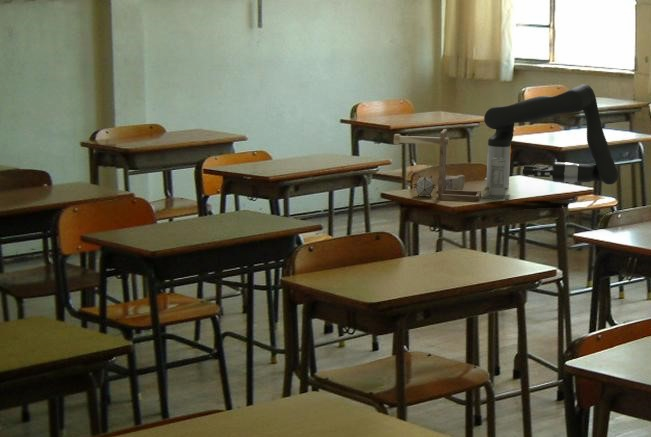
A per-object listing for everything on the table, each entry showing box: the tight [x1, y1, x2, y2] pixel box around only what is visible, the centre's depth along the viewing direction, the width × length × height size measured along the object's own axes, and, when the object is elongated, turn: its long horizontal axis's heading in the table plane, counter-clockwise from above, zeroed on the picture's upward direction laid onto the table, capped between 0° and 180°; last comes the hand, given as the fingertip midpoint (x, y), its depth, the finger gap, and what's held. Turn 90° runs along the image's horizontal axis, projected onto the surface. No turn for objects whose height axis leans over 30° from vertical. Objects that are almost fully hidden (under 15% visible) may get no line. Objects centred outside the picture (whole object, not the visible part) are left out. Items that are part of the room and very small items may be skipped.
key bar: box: [393, 133, 450, 146], centre depth 475 cm, size 4×21×4 cm, turn 79°
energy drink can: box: [488, 157, 506, 197], centre depth 478 cm, size 6×6×15 cm
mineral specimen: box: [437, 174, 465, 191], centre depth 494 cm, size 13×7×6 cm, turn 120°
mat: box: [482, 193, 510, 201], centre depth 479 cm, size 10×10×1 cm
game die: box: [413, 175, 436, 198], centre depth 478 cm, size 9×8×10 cm
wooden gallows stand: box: [437, 128, 482, 202], centre depth 473 cm, size 13×16×26 cm
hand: (523, 170), depth 475 cm, fingers open, 8 cm apart
